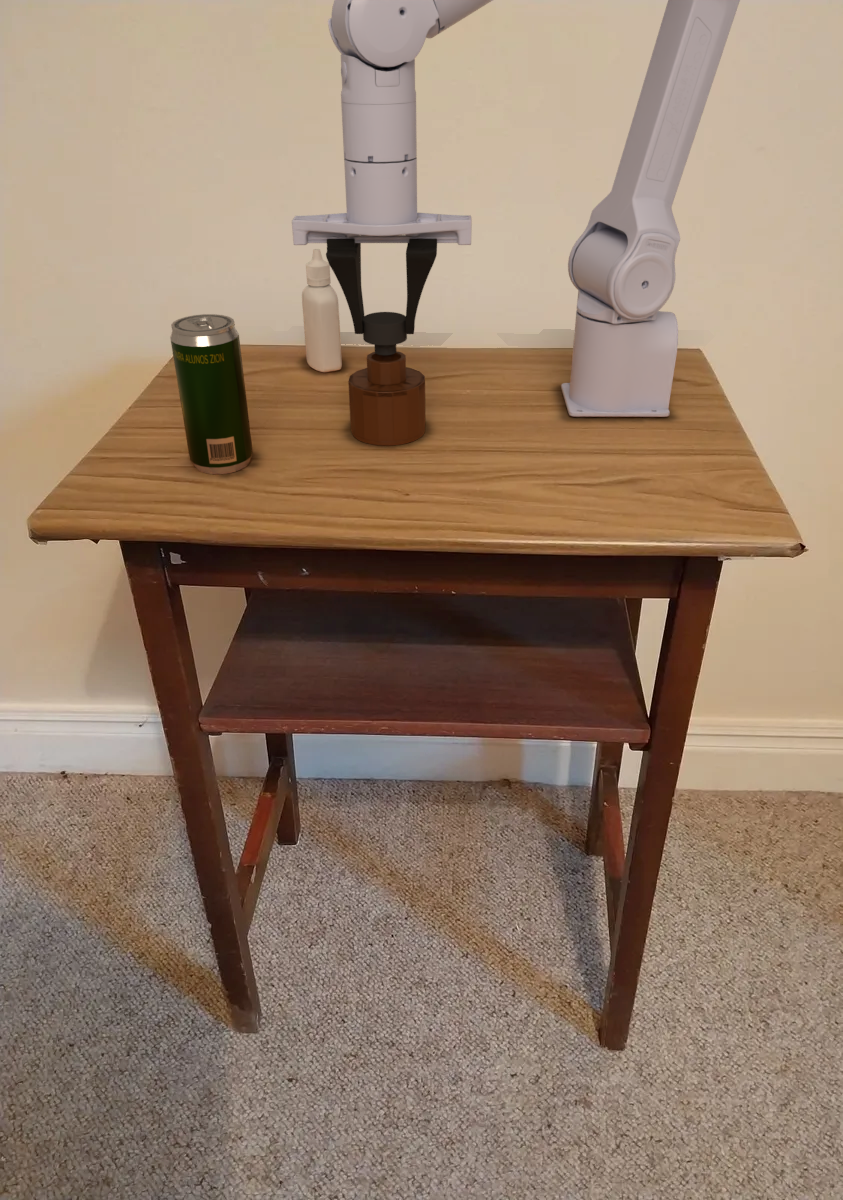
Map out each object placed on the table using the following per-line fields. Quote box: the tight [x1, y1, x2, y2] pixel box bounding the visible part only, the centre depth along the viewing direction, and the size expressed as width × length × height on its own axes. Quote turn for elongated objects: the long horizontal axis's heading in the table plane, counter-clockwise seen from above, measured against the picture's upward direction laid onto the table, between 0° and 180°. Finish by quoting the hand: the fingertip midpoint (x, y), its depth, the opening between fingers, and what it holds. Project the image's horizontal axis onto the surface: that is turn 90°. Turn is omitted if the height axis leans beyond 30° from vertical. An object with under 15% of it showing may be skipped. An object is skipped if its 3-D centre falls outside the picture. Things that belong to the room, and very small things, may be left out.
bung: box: [362, 311, 408, 356], centre depth 79 cm, size 4×4×3 cm
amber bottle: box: [347, 350, 426, 447], centre depth 82 cm, size 7×7×7 cm
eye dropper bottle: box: [301, 248, 343, 373], centre depth 96 cm, size 4×6×12 cm
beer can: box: [169, 313, 254, 475], centre depth 75 cm, size 5×5×12 cm
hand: (385, 330), depth 79 cm, fingers closed on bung, 4 cm apart
